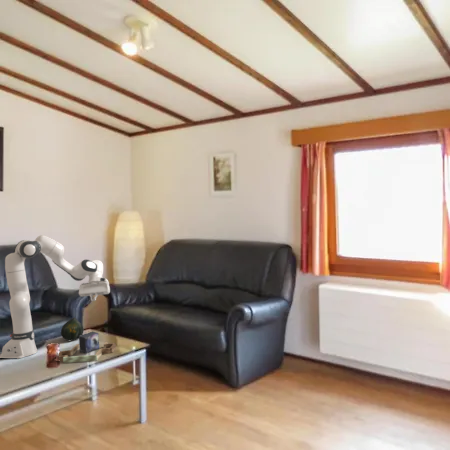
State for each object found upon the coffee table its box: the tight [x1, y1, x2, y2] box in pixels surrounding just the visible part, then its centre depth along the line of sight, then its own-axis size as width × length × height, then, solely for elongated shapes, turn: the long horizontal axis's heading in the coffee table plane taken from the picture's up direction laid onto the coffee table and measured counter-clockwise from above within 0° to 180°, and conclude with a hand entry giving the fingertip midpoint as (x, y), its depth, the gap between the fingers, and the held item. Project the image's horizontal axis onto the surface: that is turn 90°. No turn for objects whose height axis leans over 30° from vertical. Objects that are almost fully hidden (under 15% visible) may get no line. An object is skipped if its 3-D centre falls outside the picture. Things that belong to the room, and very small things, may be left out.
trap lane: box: [58, 341, 117, 364], centre depth 276 cm, size 32×25×3 cm
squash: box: [60, 317, 84, 341], centre depth 310 cm, size 14×15×15 cm
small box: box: [78, 331, 101, 355], centre depth 282 cm, size 11×6×10 cm, turn 143°
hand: (93, 300), depth 299 cm, fingers closed
